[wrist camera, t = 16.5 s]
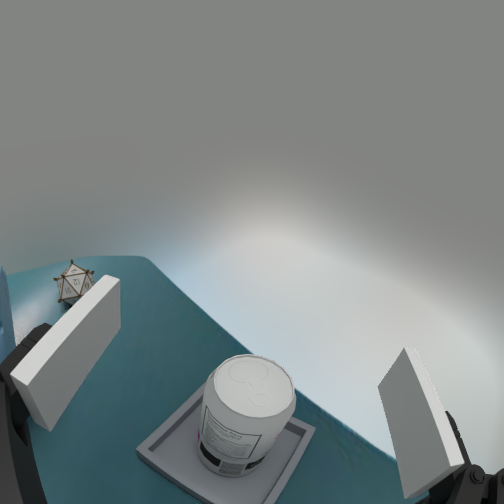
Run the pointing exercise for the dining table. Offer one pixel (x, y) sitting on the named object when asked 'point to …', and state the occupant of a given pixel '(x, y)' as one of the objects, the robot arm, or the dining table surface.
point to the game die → (74, 283)
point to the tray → (208, 482)
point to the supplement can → (243, 413)
